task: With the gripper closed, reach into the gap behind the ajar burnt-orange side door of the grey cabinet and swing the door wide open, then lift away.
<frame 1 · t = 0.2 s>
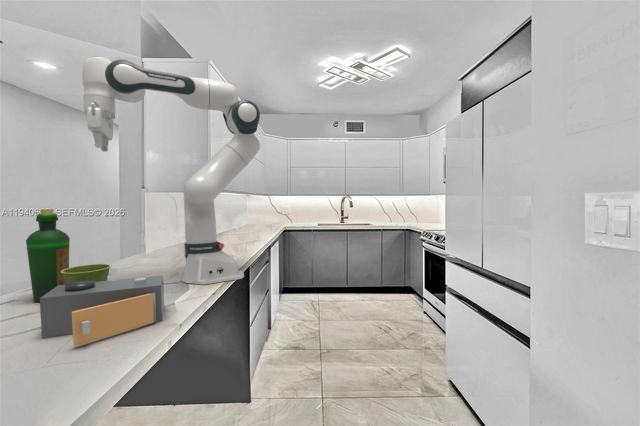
hand: (101, 149, 111), 48 cm above the counter, fingers open, 8 cm apart
side door: (119, 317, 74), point 4 cm above the counter, hinge at 30.0°
plant pot: (88, 307, 95), on the counter
bottle: (51, 299, 103), on the counter
grey cabinet: (110, 320, 83), on the counter
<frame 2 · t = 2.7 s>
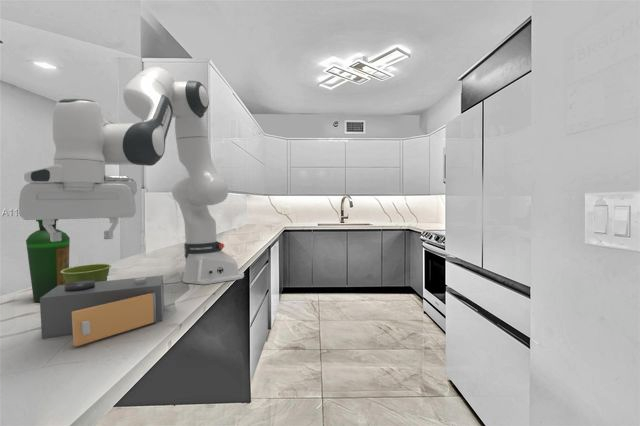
hand: (83, 240, 71), 22 cm above the counter, fingers open, 8 cm apart
nothing on the counter moved.
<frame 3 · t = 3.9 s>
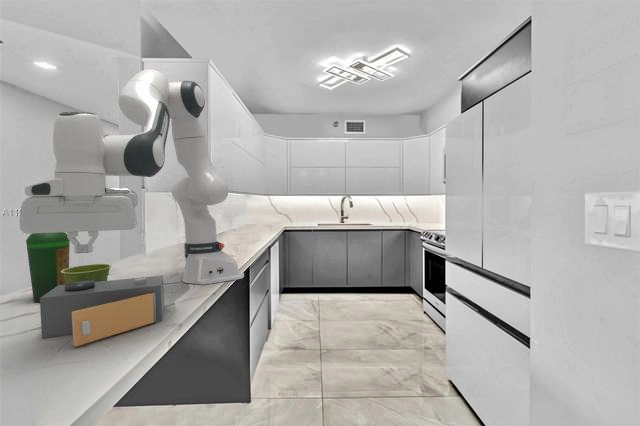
hand: (83, 252, 71), 19 cm above the counter, fingers closed
nothing on the counter moved.
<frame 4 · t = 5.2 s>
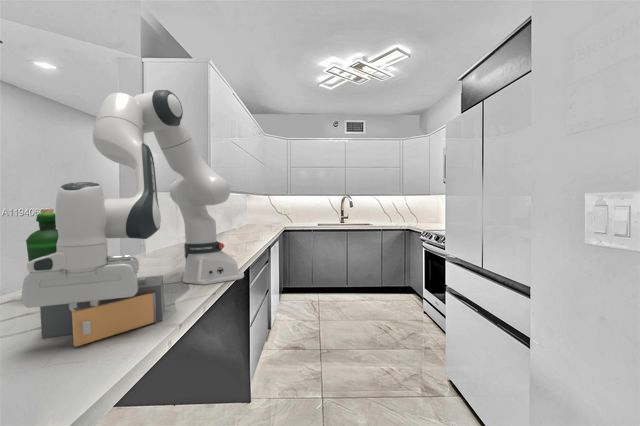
hand: (85, 321, 71), 4 cm above the counter, fingers closed
side door: (119, 317, 74), point 4 cm above the counter, hinge at 30.6°, touching gripper
everything else where it was.
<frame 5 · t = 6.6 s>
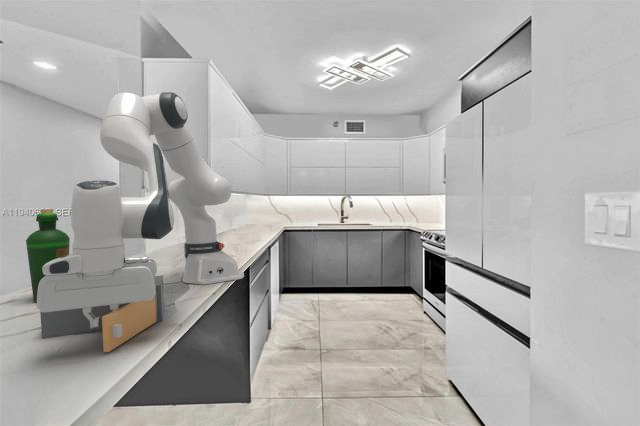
hand: (102, 326, 68), 4 cm above the counter, fingers closed
side door: (135, 318, 73), point 4 cm above the counter, hinge at 61.9°, touching gripper
everything else where it was.
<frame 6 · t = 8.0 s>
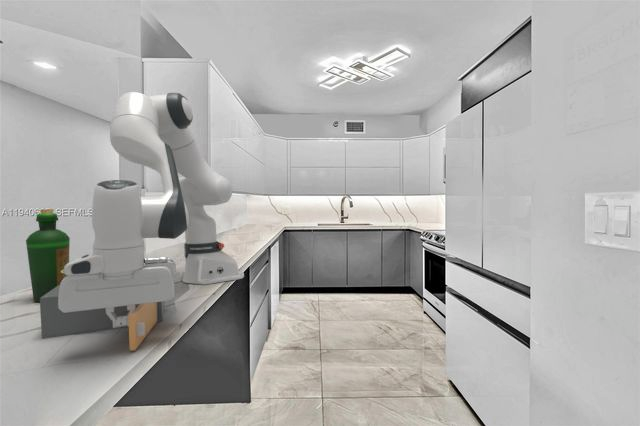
hand: (121, 326, 68), 4 cm above the counter, fingers closed
side door: (147, 317, 73), point 4 cm above the counter, hinge at 79.3°, touching gripper
everything else where it was.
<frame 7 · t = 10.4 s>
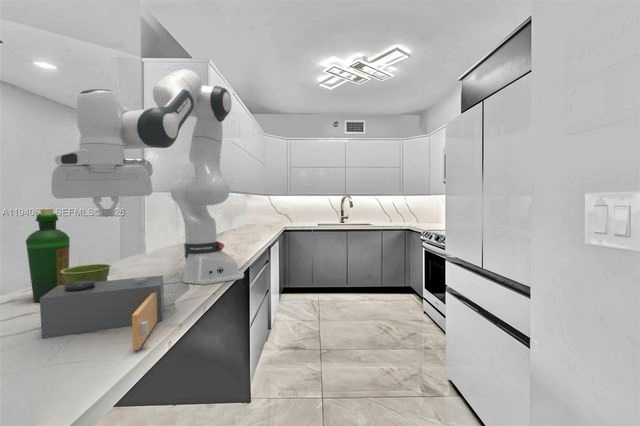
hand: (107, 216, 80), 26 cm above the counter, fingers closed
side door: (149, 317, 73), point 4 cm above the counter, hinge at 81.6°
everything else where it was.
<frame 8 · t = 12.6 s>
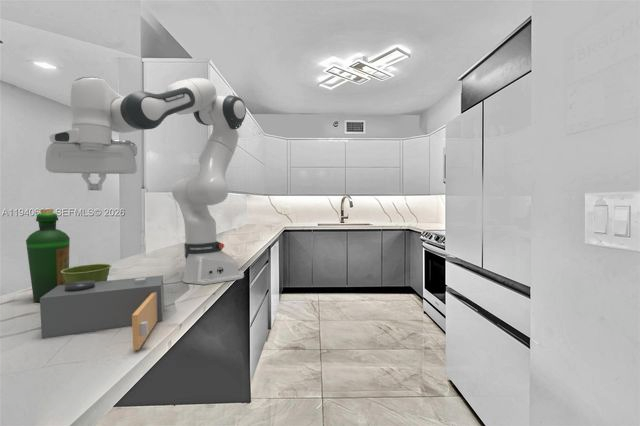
hand: (95, 190, 89), 33 cm above the counter, fingers closed
nothing on the counter moved.
at the end: side door at +82° (first picture: +30°) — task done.
